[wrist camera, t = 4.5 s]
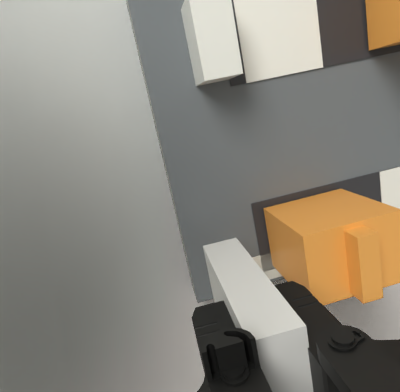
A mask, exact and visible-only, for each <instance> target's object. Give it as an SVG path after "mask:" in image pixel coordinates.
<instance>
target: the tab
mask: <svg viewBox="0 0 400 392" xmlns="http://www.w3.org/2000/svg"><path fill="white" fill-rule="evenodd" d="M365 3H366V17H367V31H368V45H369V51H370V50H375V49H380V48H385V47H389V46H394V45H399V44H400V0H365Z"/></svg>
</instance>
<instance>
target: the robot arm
mask: <svg viewBox="0 0 400 392" xmlns="http://www.w3.org/2000/svg"><path fill="white" fill-rule="evenodd" d="M203 250H204V254H205V259H206V264H207V269H208V274H209V279H210V284H211V288H212V293H213V298H214V302H215V303H211V304H208V305H204V306H200V307H197V308H195V311H194V313H193V316H192V321H193V325H194V330H195V334H196V338H197V343H198V347H199V351H200V356H201V360H202V364H203V368H204V372H205V378H204V382H203V384H202V386H201V388H200V389H199V390H198V391H197V392H400V340H372V339H371V338H370V337H369V336H368V335H367V334H366V333H364V332H363V331H361V330H360V329H357V328H354V327H351V326H344V325H342V324H341V323H340V322H339V321H338V320H337V319H336V318H335V317H334V316H333V315H332V314H331V313H330V312H329V311H328V310H327V309H326V308H325V307H324V306H323V305H322V304H321V303H319V301H318V300H317V299H316V298H315V297H314V296H313V295H312V293H311V292H310V291H309V290H308V289H307V288H306V287H305V286H303V285H301V284H298V283H296V282H294V281H290V282H286V283H282V284H278V285H275V286H274V284H273V283H272V282H271V281H270V279H269V278H268V277H267V276H266V274H265V273H264V272H263V271H262V269H261V268H260V267H259V266H258V264H257V263H256V262H255V261H254V259H253V258H252V257H251V256H250V254H249V253H248V252H247V251H246V249H245V248H244V247H243V245H242V244H241V243H240V242H239V240H238V239H237V238H232V239H228V240H224V241H220V242H216V243H212V244H208V245H204V246H203Z"/></svg>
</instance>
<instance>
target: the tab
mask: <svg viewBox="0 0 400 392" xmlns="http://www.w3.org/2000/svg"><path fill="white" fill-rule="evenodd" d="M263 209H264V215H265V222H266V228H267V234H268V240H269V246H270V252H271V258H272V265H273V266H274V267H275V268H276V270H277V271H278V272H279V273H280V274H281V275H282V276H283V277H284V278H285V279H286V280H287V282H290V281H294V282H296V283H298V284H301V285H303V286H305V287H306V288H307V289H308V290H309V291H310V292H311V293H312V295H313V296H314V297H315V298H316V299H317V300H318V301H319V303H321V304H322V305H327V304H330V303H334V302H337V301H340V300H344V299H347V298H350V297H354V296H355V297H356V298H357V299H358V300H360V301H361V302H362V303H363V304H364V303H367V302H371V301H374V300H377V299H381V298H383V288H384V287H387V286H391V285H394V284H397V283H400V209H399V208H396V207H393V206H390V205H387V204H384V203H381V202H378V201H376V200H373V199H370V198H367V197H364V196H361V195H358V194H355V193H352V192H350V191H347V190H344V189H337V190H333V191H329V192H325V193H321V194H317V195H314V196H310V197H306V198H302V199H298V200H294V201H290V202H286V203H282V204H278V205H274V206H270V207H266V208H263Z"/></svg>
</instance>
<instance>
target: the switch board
mask: <svg viewBox="0 0 400 392" xmlns="http://www.w3.org/2000/svg"><path fill="white" fill-rule="evenodd" d="M126 2H127V7H128V11H129V15H130V20H131V24H132V28H133V33H134V37H135V41H136V45H137V50H138V54H139V58H140V63H141V67H142V71H143V75H144V80H145V84H146V88H147V93H148V97H149V101H150V105H151V110H152V114H153V118H154V123H155V127H156V131H157V136H158V140H159V144H160V148H161V153H162V157H163V161H164V166H165V170H166V174H167V178H168V183H169V187H170V191H171V196H172V200H173V204H174V208H175V213H176V217H177V221H178V226H179V230H180V234H181V238H182V243H183V247H184V251H185V256H186V260H187V264H188V268H189V273H190V277H191V281H192V286H193V289H194V293H195V296H196V299H197V302H198V303H199V302H203V301H206V300H210V299H213V293H212V288H211V284H210V279H209V274H208V269H207V264H206V259H205V254H204V250H203V246H204V245H208V244H212V243H216V242H220V241H224V240H228V239H232V238H237V239H238V240H239V242H240V243H241V244H242V245H243V247H244V248H245V249H246V251H247V252H248V253H249V254H250V256H251V257H252V258H253V259H254V261H255V262H256V263H257V264H258V266H259V267H260V268H261V269H262V271H263V272H264V273H265V274H266V276H267V277H268V278H269V279H270V281H271V282H273V281H277V280H280V279H284V277H283V276H282V275H281V274H280V273H279V272H278V271H277V270H276V268H275V267H274V266H273V265H272V258H271V252H270V246H269V240H268V234H267V228H266V222H265V215H264V209H263V208H266V207H270V206H274V205H278V204H282V203H286V202H290V201H294V200H298V199H302V198H306V197H310V196H314V195H317V194H321V193H325V192H329V191H333V190H337V189H344V190H347V191H350V192H352V193H355V194H358V195H361V196H364V197H367V198H370V199H373V200H376V201H378V202H381V203H384V204H387V205H390V206H393V207H396V208H399V209H400V44H399V45H394V46H389V47H385V48H380V49H375V50H370V51H369V45H368V31H367V17H366V3H365V0H126Z"/></svg>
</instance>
